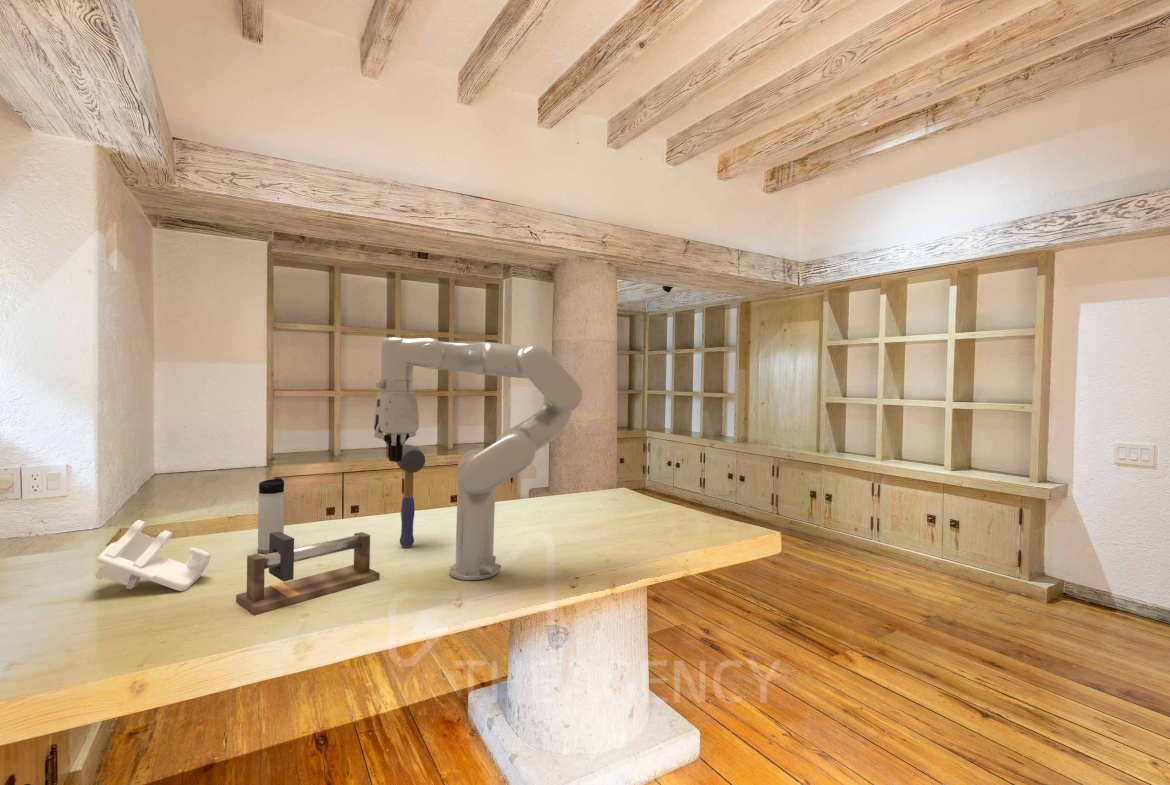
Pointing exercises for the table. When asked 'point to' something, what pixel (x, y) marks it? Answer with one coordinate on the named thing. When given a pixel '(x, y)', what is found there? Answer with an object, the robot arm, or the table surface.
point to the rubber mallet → (409, 491)
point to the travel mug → (270, 511)
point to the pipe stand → (310, 586)
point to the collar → (282, 555)
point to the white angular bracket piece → (149, 561)
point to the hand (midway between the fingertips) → (395, 460)
